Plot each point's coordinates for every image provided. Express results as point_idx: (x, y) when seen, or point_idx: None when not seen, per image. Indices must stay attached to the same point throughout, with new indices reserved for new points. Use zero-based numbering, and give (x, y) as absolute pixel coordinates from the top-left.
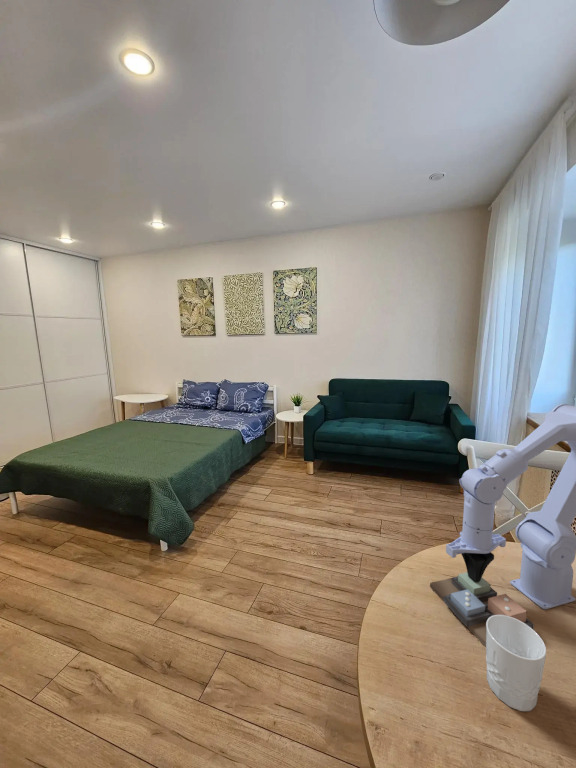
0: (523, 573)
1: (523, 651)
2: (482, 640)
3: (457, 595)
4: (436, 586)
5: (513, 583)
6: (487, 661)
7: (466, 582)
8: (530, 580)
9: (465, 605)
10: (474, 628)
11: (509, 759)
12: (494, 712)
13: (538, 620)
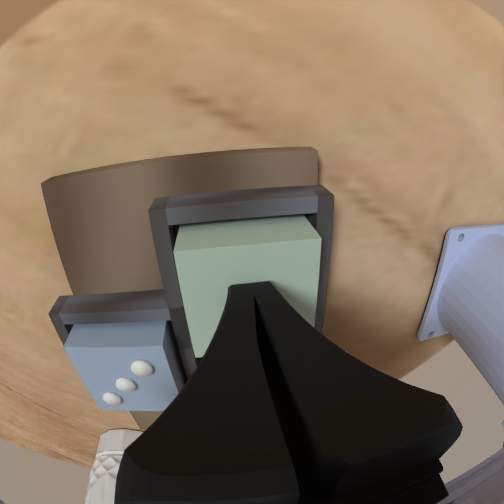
0: (489, 311)
1: None
2: None
3: (90, 360)
4: (59, 212)
5: (450, 245)
6: (89, 477)
7: (185, 312)
8: (471, 337)
9: (102, 397)
10: None
11: (88, 467)
12: (92, 451)
13: (365, 362)
